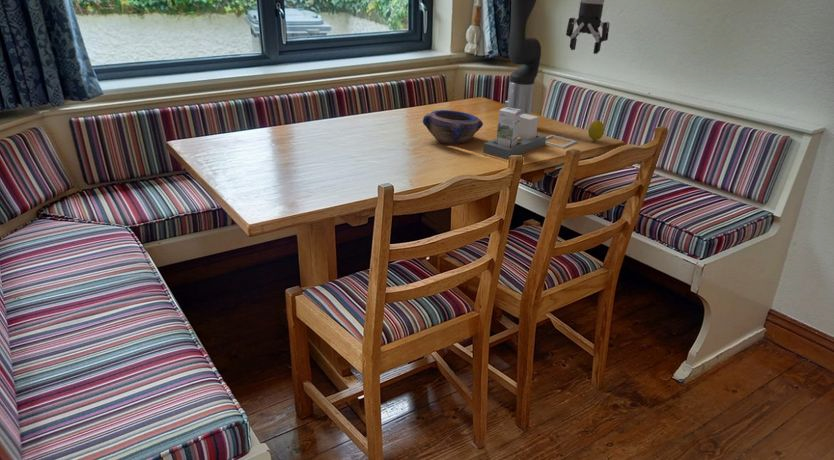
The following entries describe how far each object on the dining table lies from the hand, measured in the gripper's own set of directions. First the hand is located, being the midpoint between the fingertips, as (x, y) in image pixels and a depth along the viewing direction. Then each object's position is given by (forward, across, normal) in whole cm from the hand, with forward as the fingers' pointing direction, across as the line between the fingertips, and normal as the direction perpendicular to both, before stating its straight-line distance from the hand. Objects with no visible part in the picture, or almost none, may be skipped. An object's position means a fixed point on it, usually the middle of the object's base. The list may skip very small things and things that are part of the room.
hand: (584, 51), depth 211 cm
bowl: (+32, -29, -33) cm, 55 cm away
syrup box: (+31, -8, -31) cm, 45 cm away
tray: (+32, -2, -7) cm, 33 cm away
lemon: (+32, +6, +8) cm, 34 cm away
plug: (+31, -8, -19) cm, 37 cm away
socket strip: (+32, -8, -25) cm, 41 cm away
